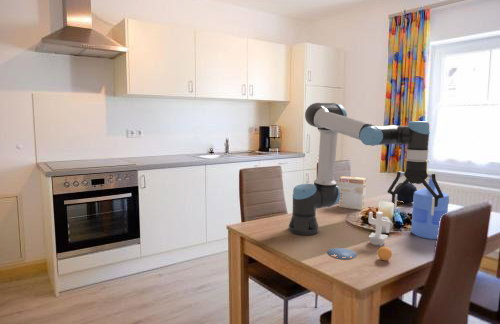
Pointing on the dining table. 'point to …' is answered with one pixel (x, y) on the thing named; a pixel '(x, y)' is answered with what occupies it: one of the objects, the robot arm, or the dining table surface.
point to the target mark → (342, 253)
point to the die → (384, 226)
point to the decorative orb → (406, 193)
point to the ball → (384, 253)
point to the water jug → (427, 212)
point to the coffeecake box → (352, 192)
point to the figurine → (378, 228)
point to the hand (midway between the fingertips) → (413, 212)
